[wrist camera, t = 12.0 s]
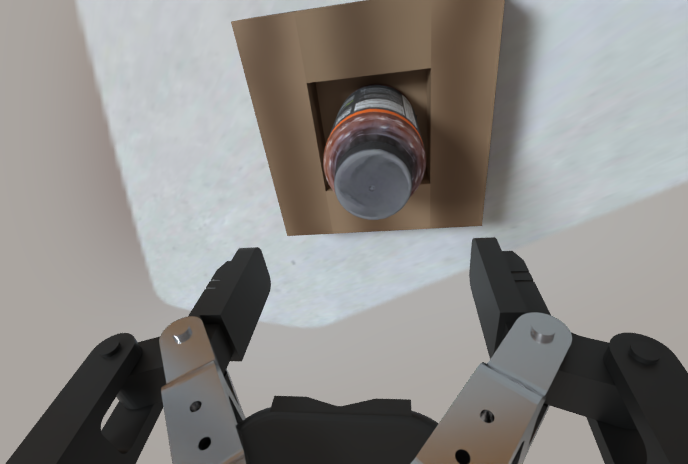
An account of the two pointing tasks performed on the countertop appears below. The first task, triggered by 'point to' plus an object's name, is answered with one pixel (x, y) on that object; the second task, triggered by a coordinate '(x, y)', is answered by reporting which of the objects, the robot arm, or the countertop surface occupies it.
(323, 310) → the countertop surface
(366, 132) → the supplement bottle
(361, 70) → the walnut holder
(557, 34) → the countertop surface
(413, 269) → the countertop surface
